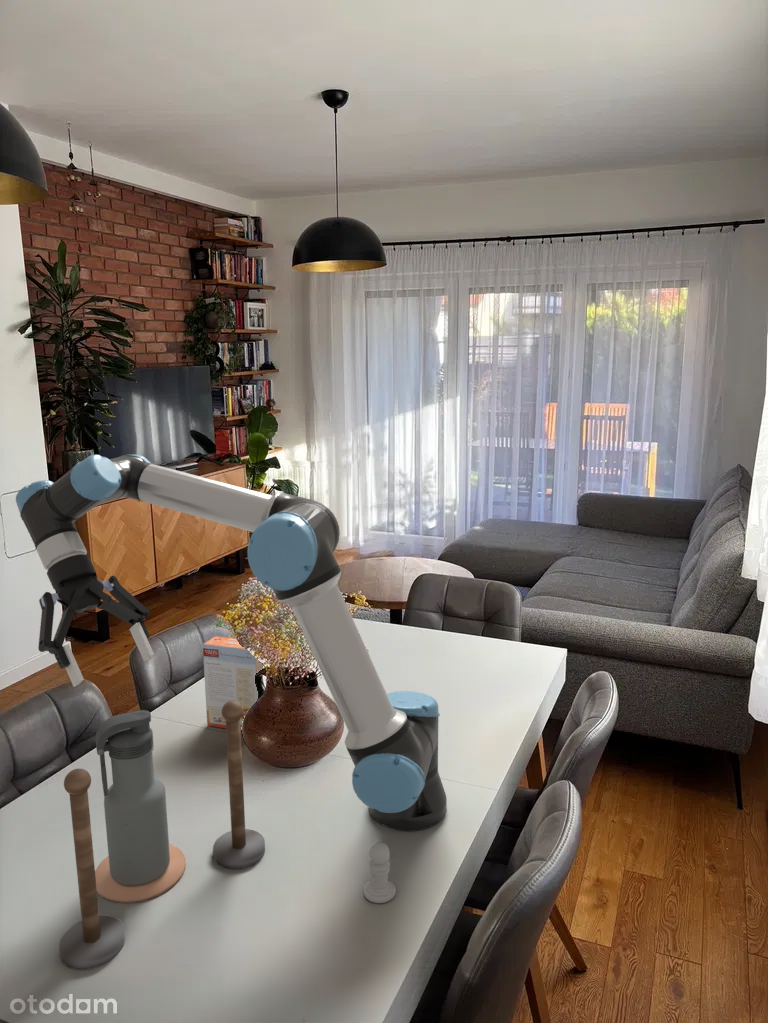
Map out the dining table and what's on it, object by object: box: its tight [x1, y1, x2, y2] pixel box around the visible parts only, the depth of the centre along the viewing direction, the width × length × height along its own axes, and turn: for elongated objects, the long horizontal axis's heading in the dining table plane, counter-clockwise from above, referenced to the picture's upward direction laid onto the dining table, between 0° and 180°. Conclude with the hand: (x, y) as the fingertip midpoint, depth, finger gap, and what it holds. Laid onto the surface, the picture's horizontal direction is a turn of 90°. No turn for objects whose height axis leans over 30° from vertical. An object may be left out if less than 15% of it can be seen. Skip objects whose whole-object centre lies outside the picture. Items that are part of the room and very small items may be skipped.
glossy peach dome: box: [95, 843, 187, 904], centre depth 129 cm, size 15×15×1 cm
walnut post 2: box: [212, 701, 266, 870], centre depth 131 cm, size 9×9×29 cm
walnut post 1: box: [59, 768, 126, 971], centre depth 110 cm, size 9×9×29 cm
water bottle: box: [94, 709, 170, 886], centre depth 126 cm, size 10×10×28 cm
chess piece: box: [362, 842, 397, 904], centre depth 123 cm, size 5×5×9 cm
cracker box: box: [202, 635, 263, 729], centre depth 179 cm, size 14×6×21 cm, turn 71°
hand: (115, 670), depth 130 cm, fingers open, 13 cm apart
